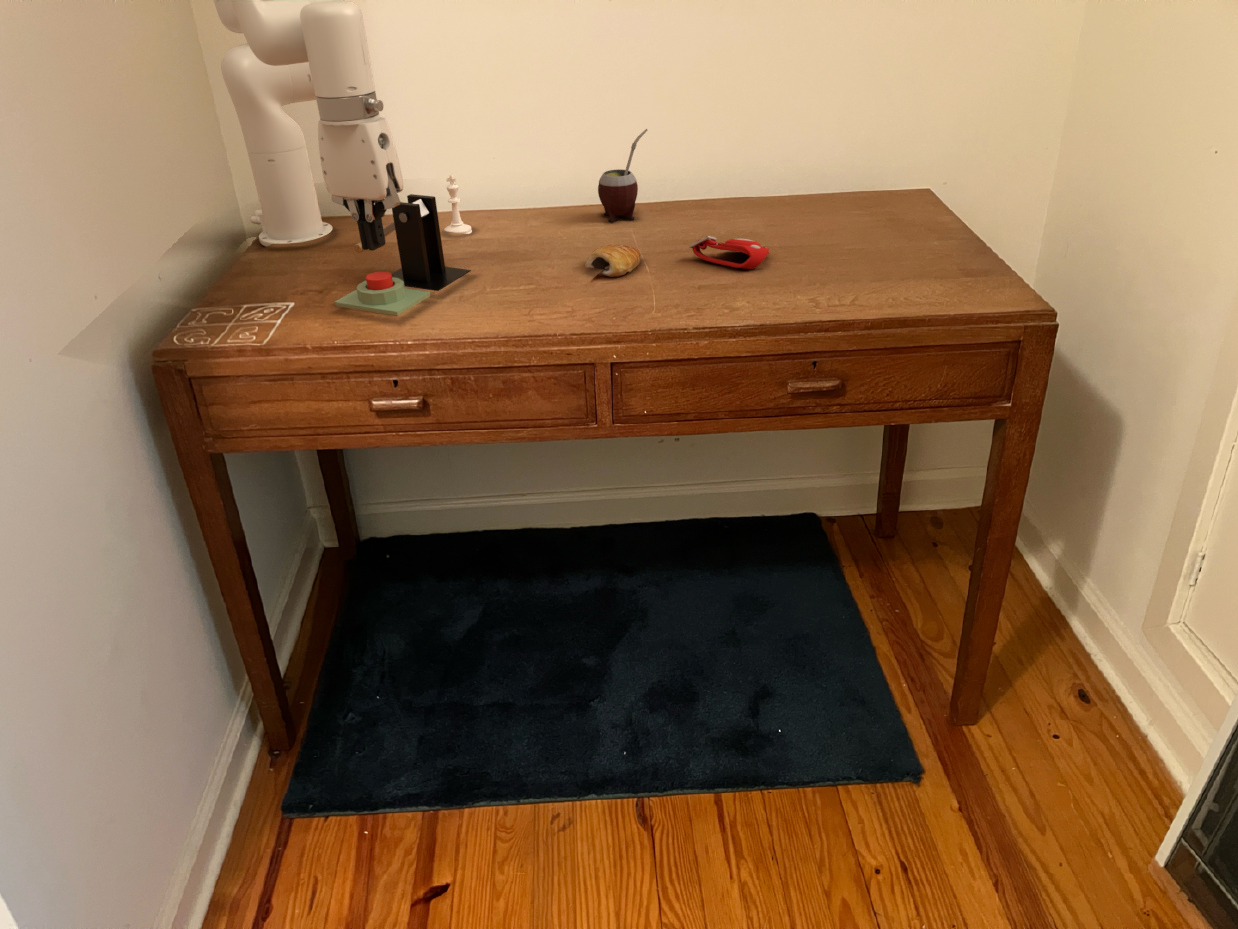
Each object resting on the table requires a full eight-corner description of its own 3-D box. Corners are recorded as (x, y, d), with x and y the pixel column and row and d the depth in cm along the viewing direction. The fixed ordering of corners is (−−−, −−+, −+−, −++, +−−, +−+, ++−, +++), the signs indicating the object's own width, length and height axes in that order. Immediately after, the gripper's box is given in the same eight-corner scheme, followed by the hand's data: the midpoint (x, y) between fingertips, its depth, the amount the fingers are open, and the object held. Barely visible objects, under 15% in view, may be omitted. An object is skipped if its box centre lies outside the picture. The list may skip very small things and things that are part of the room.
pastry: (617, 255, 148) (616, 232, 146) (651, 262, 145) (651, 239, 143) (582, 273, 142) (581, 249, 140) (618, 281, 138) (617, 257, 136)
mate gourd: (592, 220, 164) (587, 134, 157) (615, 208, 170) (612, 124, 162) (627, 226, 161) (624, 138, 153) (649, 213, 167) (648, 128, 159)
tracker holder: (754, 239, 149) (784, 243, 140) (750, 267, 150) (780, 272, 141) (686, 232, 145) (713, 234, 135) (683, 260, 146) (709, 265, 137)
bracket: (378, 288, 139) (363, 204, 132) (413, 269, 146) (400, 188, 139) (439, 297, 135) (426, 211, 128) (471, 277, 142) (461, 194, 135)
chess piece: (466, 237, 159) (459, 178, 154) (440, 236, 160) (431, 178, 154) (476, 228, 163) (469, 171, 158) (450, 227, 164) (442, 170, 159)
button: (362, 290, 130) (360, 278, 129) (378, 281, 133) (376, 270, 132) (383, 293, 129) (381, 281, 128) (398, 284, 132) (396, 272, 131)
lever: (359, 257, 140) (350, 243, 139) (383, 245, 144) (374, 231, 143) (413, 221, 132) (404, 206, 131) (437, 209, 136) (428, 194, 136)
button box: (336, 312, 131) (331, 289, 130) (370, 293, 138) (366, 271, 136) (399, 323, 127) (394, 299, 126) (431, 302, 134) (428, 279, 132)
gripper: (413, 104, 118) (434, 244, 127) (322, 101, 124) (348, 234, 133) (377, 116, 112) (402, 260, 122) (283, 111, 118) (314, 250, 127)
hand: (374, 246), depth 127 cm, fingers closed
